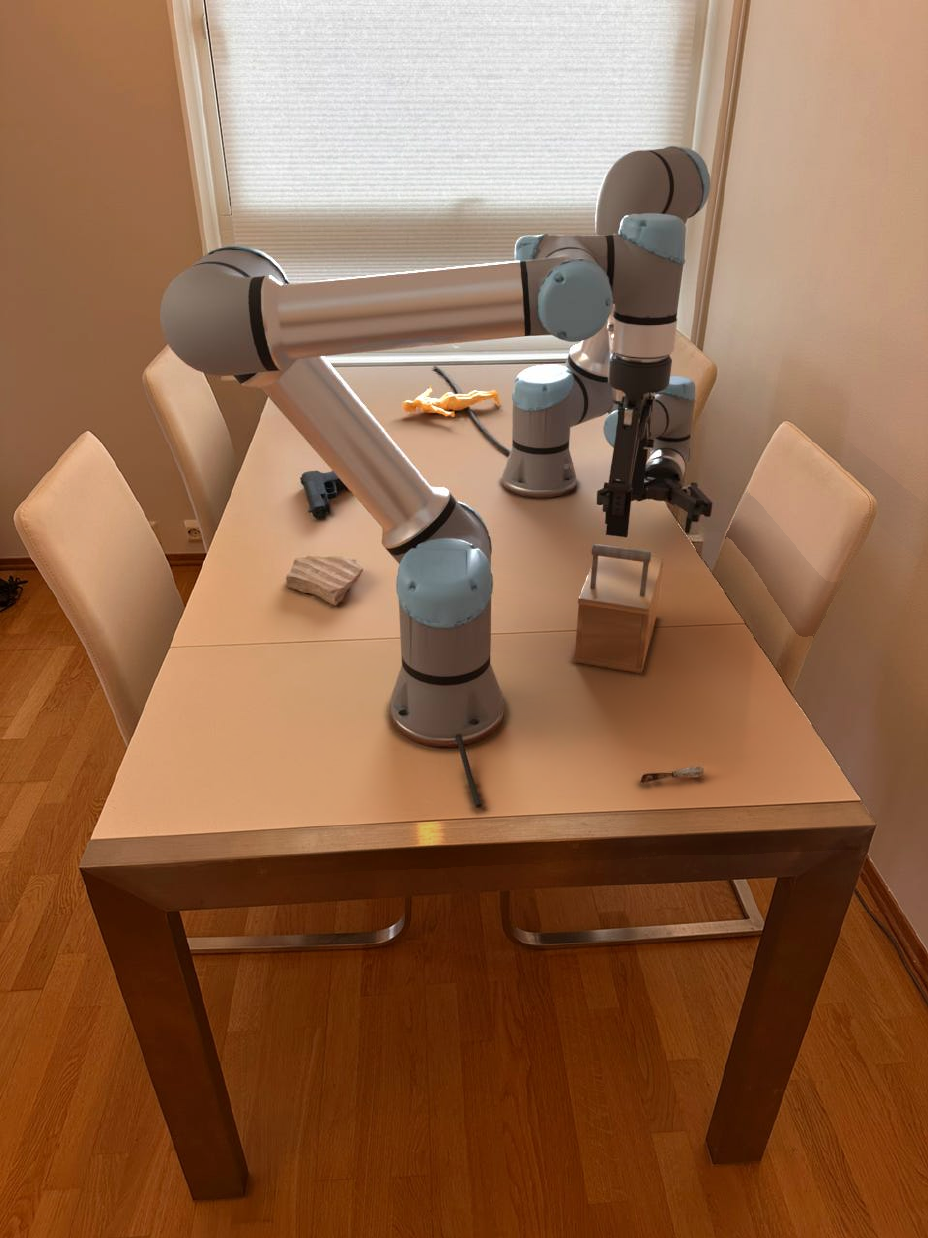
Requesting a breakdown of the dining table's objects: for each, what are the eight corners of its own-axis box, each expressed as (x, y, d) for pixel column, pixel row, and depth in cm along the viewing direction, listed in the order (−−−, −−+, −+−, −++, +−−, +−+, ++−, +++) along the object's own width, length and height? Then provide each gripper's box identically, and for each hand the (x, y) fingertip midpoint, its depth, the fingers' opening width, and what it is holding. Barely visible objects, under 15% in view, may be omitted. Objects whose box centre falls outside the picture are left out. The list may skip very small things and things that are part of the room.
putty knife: (703, 777, 109) (705, 767, 109) (642, 788, 108) (644, 777, 107) (700, 772, 110) (702, 762, 109) (639, 782, 109) (640, 771, 108)
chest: (641, 673, 128) (649, 612, 123) (574, 662, 131) (578, 601, 126) (655, 619, 141) (663, 561, 135) (594, 609, 144) (599, 552, 138)
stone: (372, 573, 153) (371, 560, 152) (338, 607, 144) (336, 593, 143) (307, 560, 158) (306, 548, 156) (270, 592, 148) (268, 579, 147)
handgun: (371, 513, 174) (309, 521, 172) (356, 478, 189) (299, 484, 186) (370, 498, 173) (308, 506, 170) (355, 464, 187) (297, 470, 184)
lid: (648, 614, 122) (654, 564, 118) (577, 603, 125) (581, 554, 121) (663, 561, 135) (669, 514, 131) (599, 552, 138) (602, 506, 134)
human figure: (395, 413, 223) (394, 398, 221) (438, 390, 237) (438, 375, 235) (462, 429, 215) (462, 413, 213) (502, 404, 229) (503, 388, 227)
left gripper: (626, 326, 119) (613, 474, 131) (591, 380, 99) (578, 550, 111) (683, 330, 117) (665, 480, 129) (659, 387, 97) (639, 558, 109)
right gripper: (727, 500, 168) (719, 549, 151) (596, 487, 175) (574, 532, 157) (733, 462, 164) (725, 508, 147) (598, 451, 171) (576, 493, 154)
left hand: (625, 513), depth 120 cm, fingers open, 13 cm apart
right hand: (647, 521), depth 152 cm, fingers open, 13 cm apart
